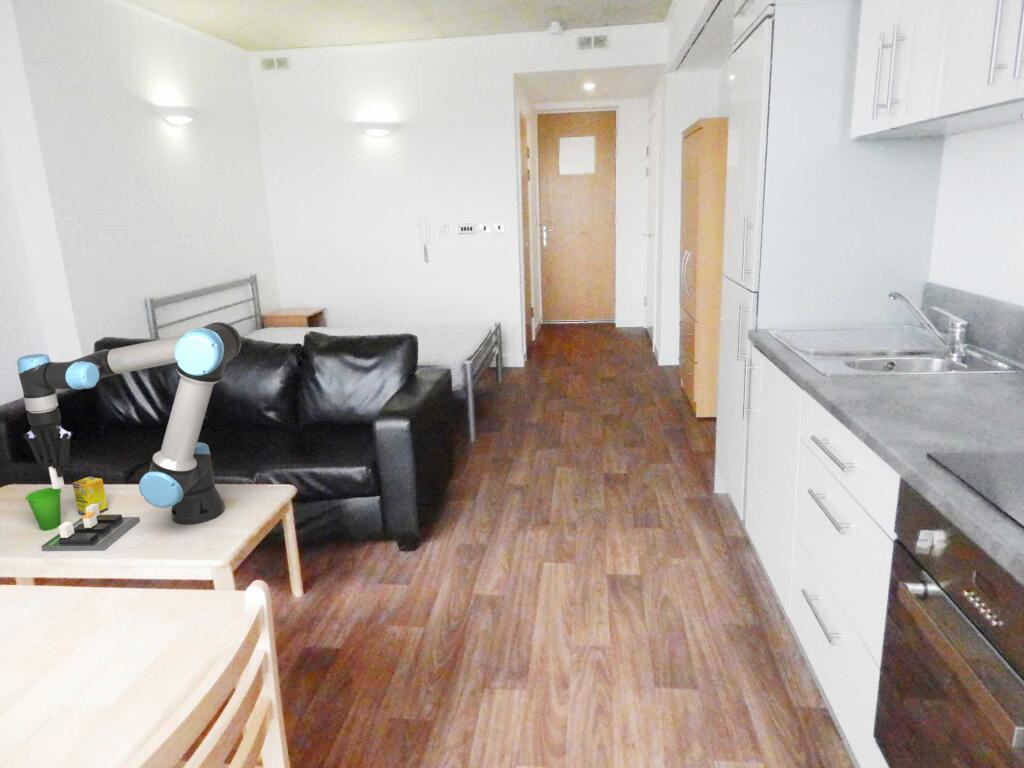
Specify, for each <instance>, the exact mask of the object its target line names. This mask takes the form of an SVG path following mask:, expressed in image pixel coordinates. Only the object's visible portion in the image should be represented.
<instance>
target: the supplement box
mask: <svg viewBox="0 0 1024 768" xmlns="http://www.w3.org/2000/svg"><path fill="white" fill-rule="evenodd" d="M72 488H73V492H74V497H75V501H76V507H77V512H78V515H82V516H84V515H85V514H86V509H85V508H86V507H88V506H89V505H91V504H98V507H99V512H100V514H102V513H104V512H106V511H108V510H109V507H108V503H107V497H106V492H105V487H104V481H103V478H99V477H94V476H87V477H84V478H82V479H79V480H76V481H75V482H72Z"/></svg>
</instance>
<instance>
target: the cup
mask: <svg viewBox="0 0 1024 768" xmlns="http://www.w3.org/2000/svg"><path fill="white" fill-rule="evenodd" d="M61 493H62V489H61V488H58V489H53V487H47V488H41V489H39V490H35V491H32V492H30V493H28V494H26V496H25V500H26V501H27V503H28V504H29V507H30V509H31V511H32V514H33V516H34V517H35V520H36V522H37V525H38V526H39V528H40V530H41V531H44V532H45V531H52V530H55V529H57V528H59V526H60V525H61V524H62V521H61V520H62V519H61V515H62V514H61V513H62V511H61Z"/></svg>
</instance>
